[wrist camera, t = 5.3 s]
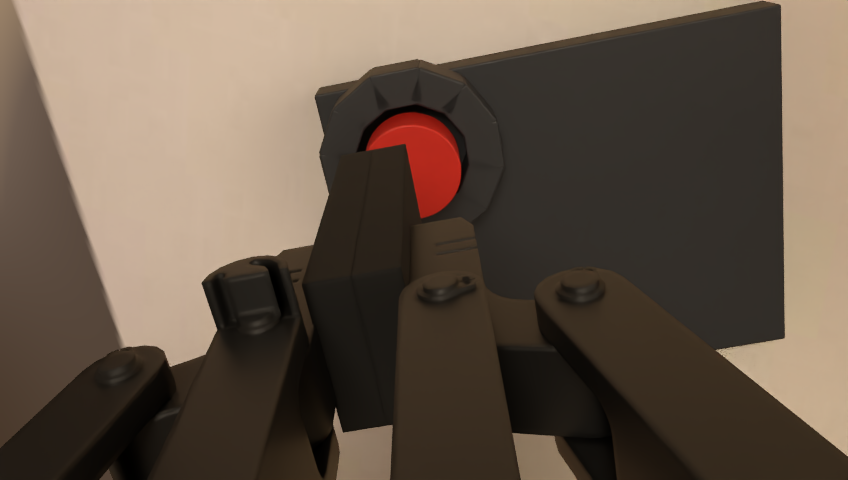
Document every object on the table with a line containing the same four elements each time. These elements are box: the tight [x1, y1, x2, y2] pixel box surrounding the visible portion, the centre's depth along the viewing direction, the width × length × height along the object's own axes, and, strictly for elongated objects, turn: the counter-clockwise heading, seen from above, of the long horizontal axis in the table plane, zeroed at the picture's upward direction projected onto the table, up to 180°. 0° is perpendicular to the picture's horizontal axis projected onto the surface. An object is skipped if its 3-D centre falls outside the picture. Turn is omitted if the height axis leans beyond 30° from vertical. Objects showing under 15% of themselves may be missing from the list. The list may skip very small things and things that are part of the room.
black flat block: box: [315, 1, 785, 350], centre depth 28 cm, size 16×14×3 cm
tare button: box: [366, 112, 461, 218], centre depth 25 cm, size 3×3×2 cm
